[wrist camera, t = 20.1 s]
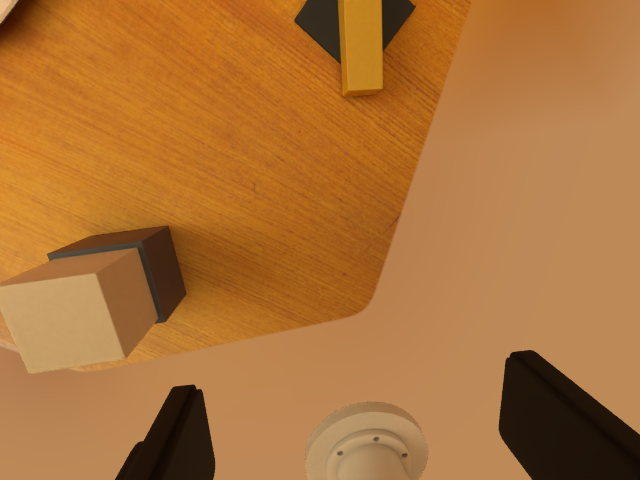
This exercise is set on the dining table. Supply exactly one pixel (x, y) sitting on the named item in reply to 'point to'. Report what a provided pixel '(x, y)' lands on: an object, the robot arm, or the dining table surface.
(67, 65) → the dining table surface
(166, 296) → the tower
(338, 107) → the dining table surface
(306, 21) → the mat
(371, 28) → the bar
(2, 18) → the plate
